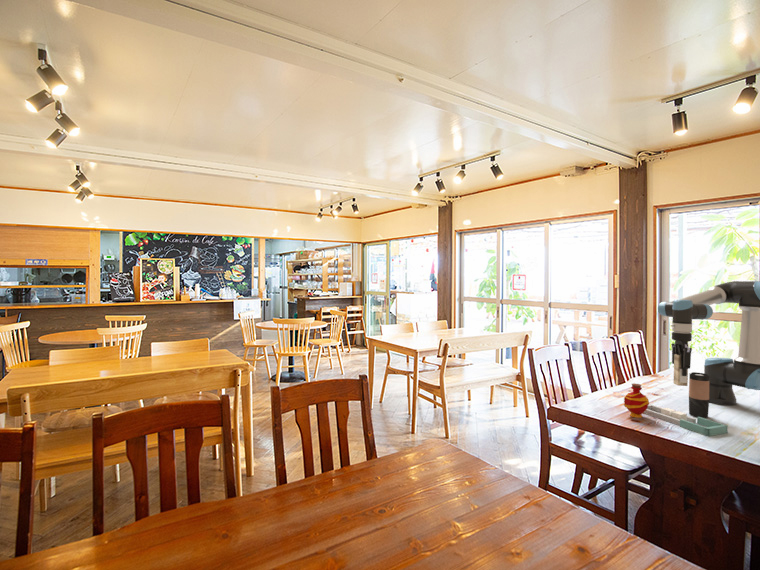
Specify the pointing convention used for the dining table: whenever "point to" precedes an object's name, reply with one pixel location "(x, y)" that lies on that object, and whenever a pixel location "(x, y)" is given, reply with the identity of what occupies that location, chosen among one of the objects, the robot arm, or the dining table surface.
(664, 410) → the cube
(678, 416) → the cube
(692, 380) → the travel mug
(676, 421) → the slot rail
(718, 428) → the tray
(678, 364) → the light wood tall block
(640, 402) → the potion bottle
